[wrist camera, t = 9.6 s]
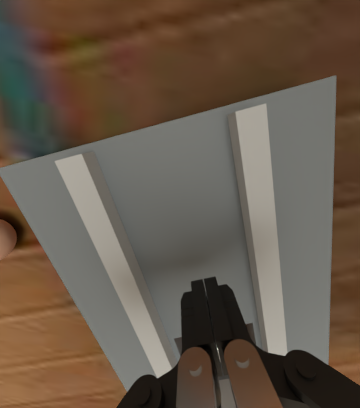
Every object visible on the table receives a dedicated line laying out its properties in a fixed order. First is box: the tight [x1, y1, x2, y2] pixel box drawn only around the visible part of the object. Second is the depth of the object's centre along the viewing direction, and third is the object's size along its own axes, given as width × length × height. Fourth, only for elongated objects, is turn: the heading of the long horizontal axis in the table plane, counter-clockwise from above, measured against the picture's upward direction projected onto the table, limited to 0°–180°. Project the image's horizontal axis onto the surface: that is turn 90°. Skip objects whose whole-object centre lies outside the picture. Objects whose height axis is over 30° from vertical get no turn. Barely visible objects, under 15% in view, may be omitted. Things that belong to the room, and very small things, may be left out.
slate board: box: [0, 75, 336, 408], centre depth 15 cm, size 27×20×6 cm
